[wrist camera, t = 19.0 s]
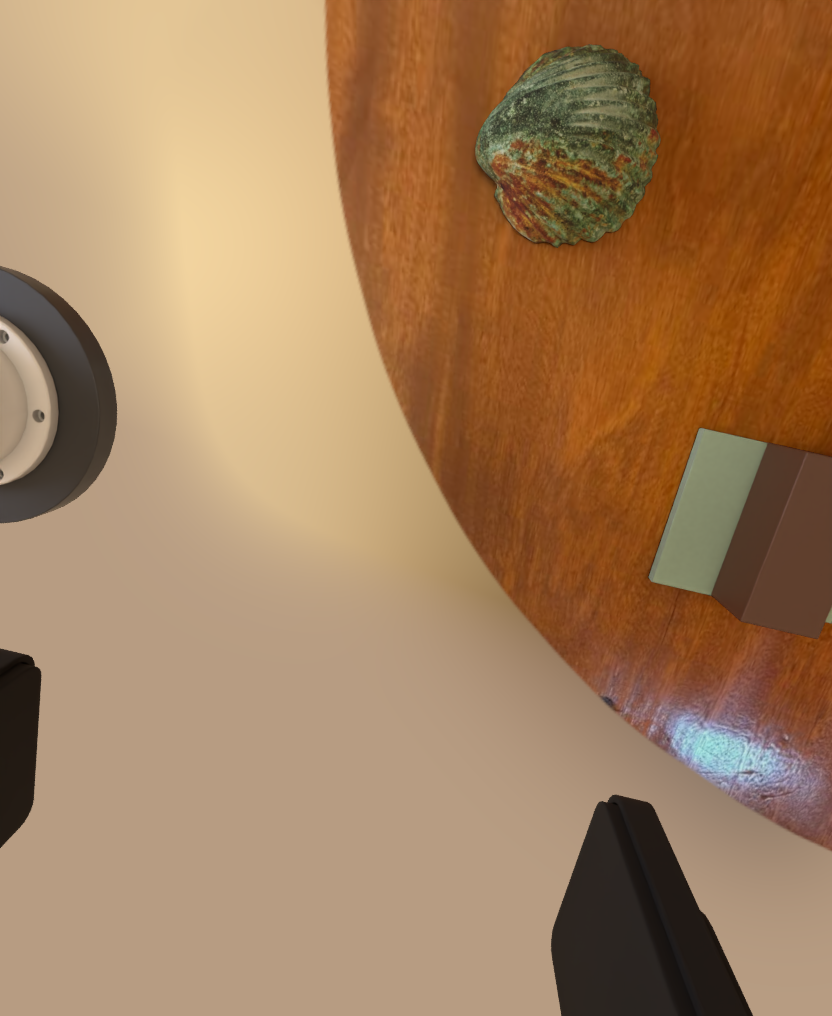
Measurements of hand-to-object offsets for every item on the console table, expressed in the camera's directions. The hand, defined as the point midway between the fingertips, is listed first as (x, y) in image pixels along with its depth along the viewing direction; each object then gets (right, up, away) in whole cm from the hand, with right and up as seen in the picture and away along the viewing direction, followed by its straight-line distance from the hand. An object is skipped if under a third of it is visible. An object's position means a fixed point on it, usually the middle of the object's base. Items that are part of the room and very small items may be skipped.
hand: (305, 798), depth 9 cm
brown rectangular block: (+24, +3, +26) cm, 35 cm away
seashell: (+10, +25, +23) cm, 35 cm away
